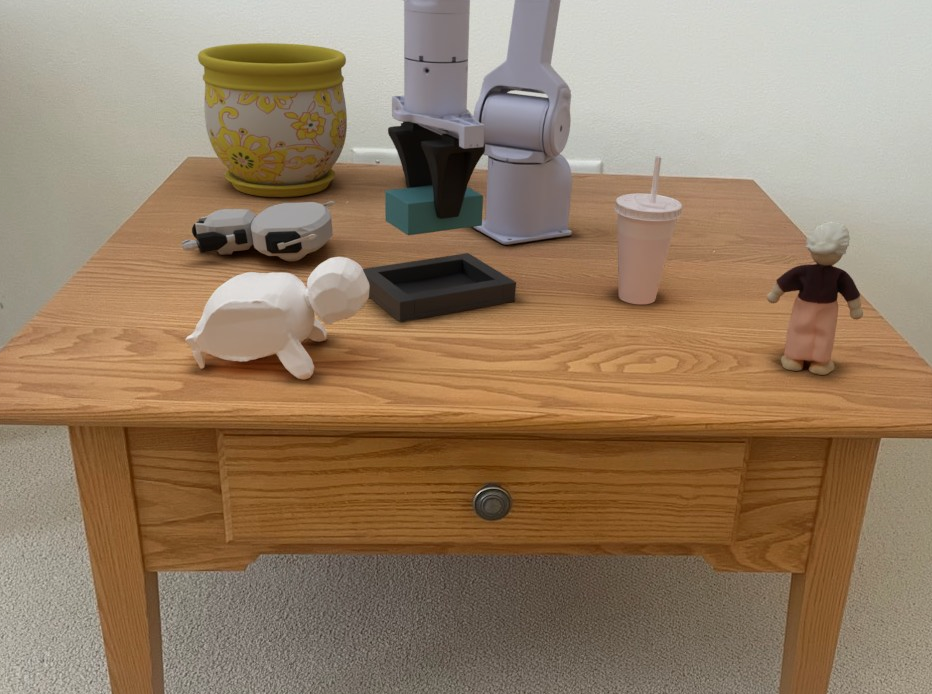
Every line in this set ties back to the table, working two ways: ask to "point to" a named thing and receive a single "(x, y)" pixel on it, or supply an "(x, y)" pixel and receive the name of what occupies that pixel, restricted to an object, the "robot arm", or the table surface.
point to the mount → (437, 286)
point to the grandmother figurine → (817, 300)
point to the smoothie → (644, 241)
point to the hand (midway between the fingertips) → (434, 209)
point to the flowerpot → (275, 115)
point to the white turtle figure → (278, 314)
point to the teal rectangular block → (429, 211)
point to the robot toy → (265, 230)
